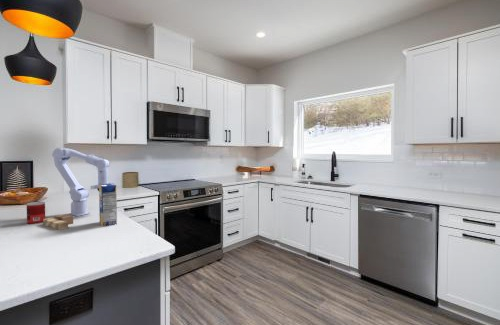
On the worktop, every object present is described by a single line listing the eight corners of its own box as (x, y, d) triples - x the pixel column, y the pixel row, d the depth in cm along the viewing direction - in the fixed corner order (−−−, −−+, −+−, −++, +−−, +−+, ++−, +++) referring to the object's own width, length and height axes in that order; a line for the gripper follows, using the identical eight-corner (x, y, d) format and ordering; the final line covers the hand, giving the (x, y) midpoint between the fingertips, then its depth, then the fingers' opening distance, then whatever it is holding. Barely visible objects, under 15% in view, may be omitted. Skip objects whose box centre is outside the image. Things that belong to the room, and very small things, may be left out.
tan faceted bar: (43, 224, 135) (43, 219, 135) (52, 222, 139) (52, 217, 139) (59, 229, 127) (59, 224, 126) (68, 227, 130) (68, 222, 130)
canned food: (48, 220, 143) (48, 201, 143) (35, 224, 136) (35, 204, 135) (37, 219, 144) (36, 201, 144) (23, 223, 136) (22, 204, 136)
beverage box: (102, 226, 133) (102, 186, 132) (99, 221, 142) (99, 184, 141) (116, 224, 137) (116, 185, 136) (112, 220, 146) (112, 183, 145)
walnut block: (55, 224, 137) (55, 216, 137) (65, 221, 142) (65, 214, 141) (63, 226, 134) (63, 218, 133) (73, 223, 138) (73, 216, 138)
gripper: (94, 179, 150) (95, 201, 150) (117, 177, 162) (118, 197, 163) (88, 178, 153) (89, 200, 154) (111, 176, 166) (111, 196, 166)
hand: (103, 198), depth 159 cm, fingers closed
